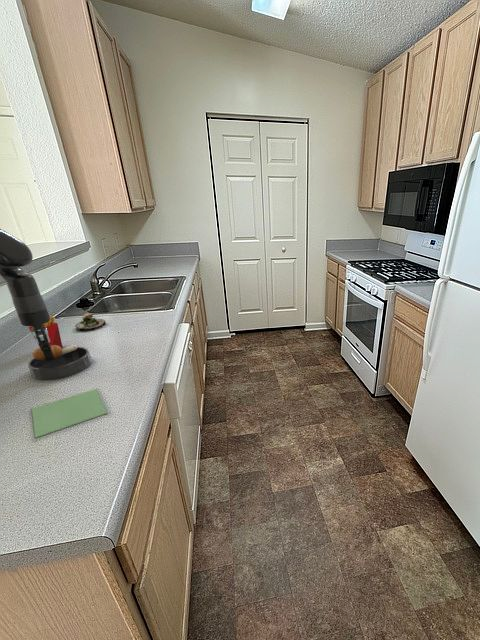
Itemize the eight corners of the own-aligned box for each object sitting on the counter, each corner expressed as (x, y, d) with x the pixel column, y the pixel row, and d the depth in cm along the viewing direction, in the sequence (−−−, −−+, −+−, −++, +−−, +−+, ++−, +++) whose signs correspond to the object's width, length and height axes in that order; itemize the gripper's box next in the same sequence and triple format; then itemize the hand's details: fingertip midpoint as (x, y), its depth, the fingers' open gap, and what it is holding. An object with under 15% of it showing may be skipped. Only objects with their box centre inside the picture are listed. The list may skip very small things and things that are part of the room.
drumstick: (36, 364, 108) (31, 354, 106) (34, 358, 110) (30, 348, 108) (79, 353, 115) (76, 343, 112) (77, 347, 117) (73, 338, 115)
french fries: (53, 344, 133) (39, 308, 126) (69, 346, 130) (56, 310, 124) (32, 353, 125) (16, 315, 118) (49, 356, 123) (33, 317, 116)
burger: (76, 333, 143) (70, 317, 139) (75, 325, 152) (70, 310, 148) (107, 327, 148) (103, 311, 145) (104, 320, 157) (100, 305, 154)
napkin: (32, 409, 92) (31, 408, 92) (96, 389, 101) (96, 388, 101) (35, 438, 81) (35, 437, 81) (107, 413, 90) (107, 412, 90)
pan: (31, 366, 116) (26, 356, 114) (87, 352, 125) (83, 342, 123) (34, 385, 104) (29, 374, 102) (95, 369, 113) (92, 358, 111)
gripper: (15, 305, 106) (34, 353, 114) (16, 316, 96) (37, 368, 104) (43, 301, 110) (60, 348, 118) (47, 311, 100) (65, 361, 108)
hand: (49, 357), depth 111 cm, fingers closed on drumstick, 4 cm apart
